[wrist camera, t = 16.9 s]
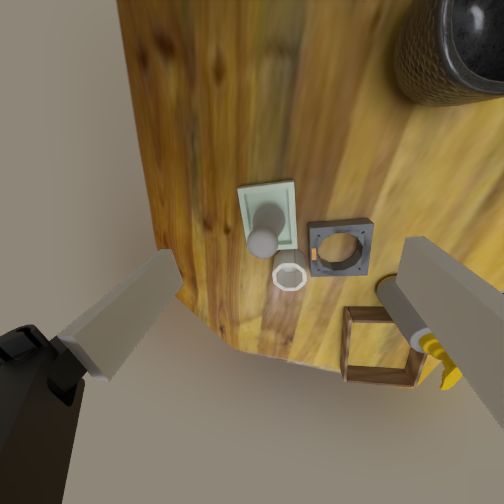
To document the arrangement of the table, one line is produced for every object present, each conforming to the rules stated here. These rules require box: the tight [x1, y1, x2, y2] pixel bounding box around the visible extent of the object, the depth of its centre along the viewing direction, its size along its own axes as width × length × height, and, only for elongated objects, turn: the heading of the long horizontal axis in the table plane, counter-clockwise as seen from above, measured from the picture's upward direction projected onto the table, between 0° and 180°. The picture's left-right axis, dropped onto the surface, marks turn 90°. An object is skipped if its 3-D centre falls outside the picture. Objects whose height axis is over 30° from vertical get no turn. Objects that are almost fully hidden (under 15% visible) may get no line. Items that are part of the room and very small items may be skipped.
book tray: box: [340, 307, 428, 388], centre depth 45 cm, size 21×16×4 cm
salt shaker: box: [247, 205, 286, 259], centre depth 32 cm, size 6×6×13 cm
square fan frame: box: [309, 218, 374, 277], centre depth 37 cm, size 10×10×3 cm
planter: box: [393, 0, 504, 107], centre depth 19 cm, size 14×14×13 cm
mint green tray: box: [237, 180, 298, 252], centre depth 37 cm, size 12×10×2 cm
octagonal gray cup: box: [272, 249, 307, 291], centre depth 39 cm, size 6×6×6 cm
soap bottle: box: [376, 275, 463, 390], centre depth 32 cm, size 7×7×18 cm
